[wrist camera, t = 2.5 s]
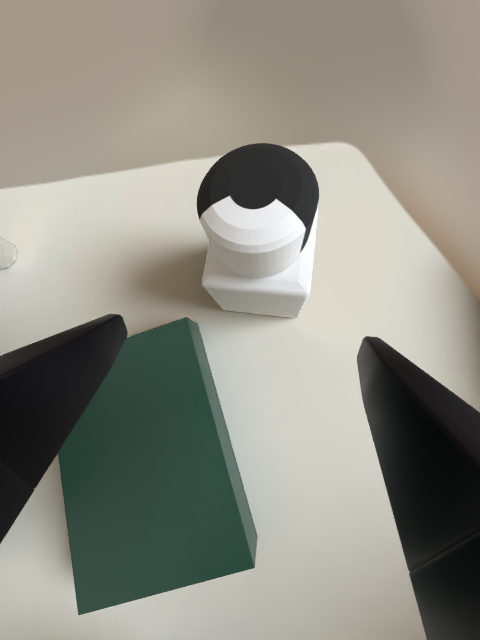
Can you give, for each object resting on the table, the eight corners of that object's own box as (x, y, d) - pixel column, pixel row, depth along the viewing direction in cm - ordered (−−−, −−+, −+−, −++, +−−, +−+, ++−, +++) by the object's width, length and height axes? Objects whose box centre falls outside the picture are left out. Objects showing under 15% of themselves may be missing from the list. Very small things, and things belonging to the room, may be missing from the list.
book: (257, 536, 19) (254, 568, 16) (107, 578, 20) (78, 615, 17) (197, 323, 23) (186, 317, 20) (74, 365, 24) (46, 365, 21)
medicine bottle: (232, 241, 24) (194, 122, 12) (305, 246, 23) (340, 120, 11) (221, 310, 23) (167, 251, 11) (298, 319, 22) (328, 263, 10)
